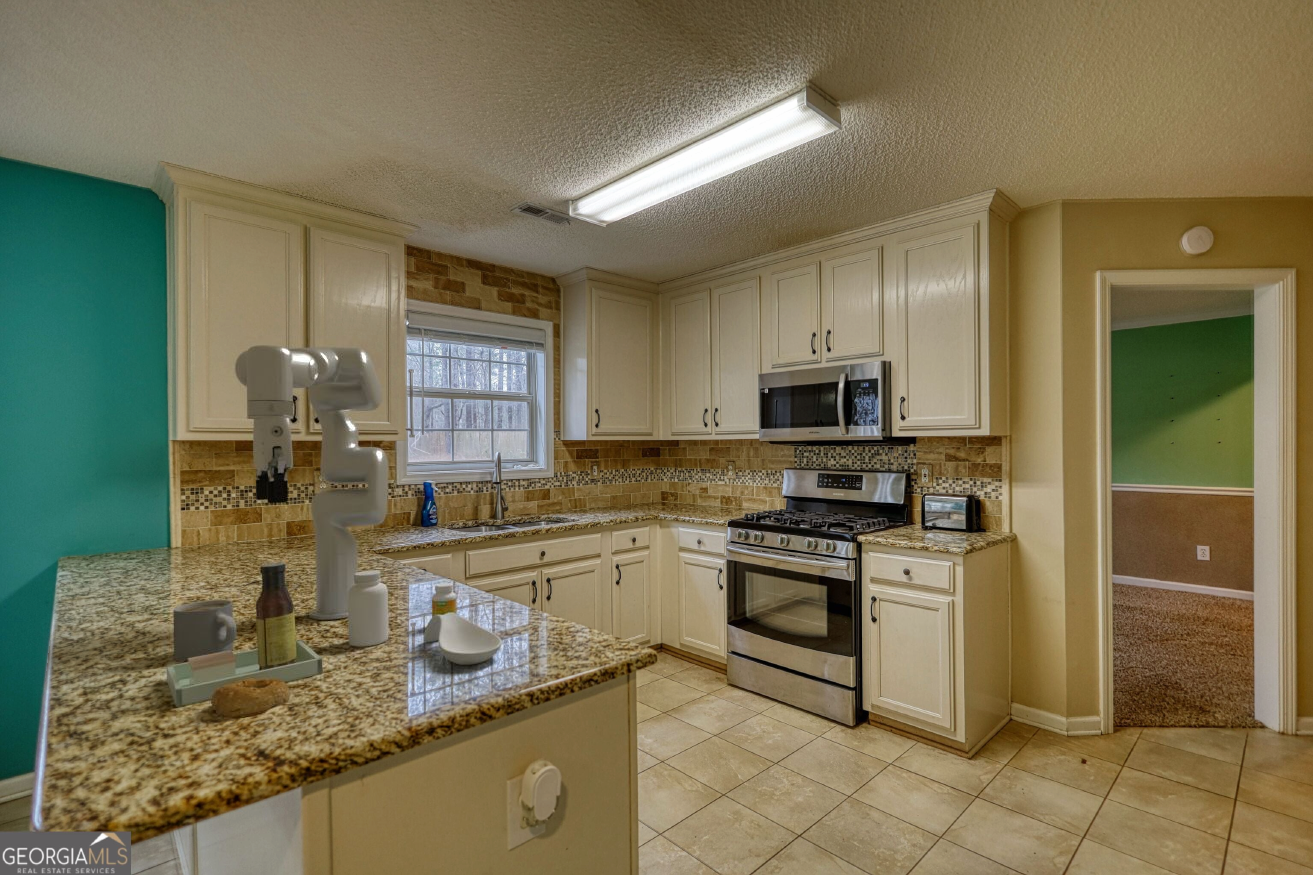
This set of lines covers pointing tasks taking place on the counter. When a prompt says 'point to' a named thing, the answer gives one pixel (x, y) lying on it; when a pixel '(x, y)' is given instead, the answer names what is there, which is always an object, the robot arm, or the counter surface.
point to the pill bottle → (367, 610)
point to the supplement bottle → (443, 599)
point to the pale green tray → (241, 674)
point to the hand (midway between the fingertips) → (271, 501)
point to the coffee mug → (203, 628)
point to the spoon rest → (461, 639)
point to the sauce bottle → (275, 620)
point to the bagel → (249, 697)
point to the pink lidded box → (211, 667)
